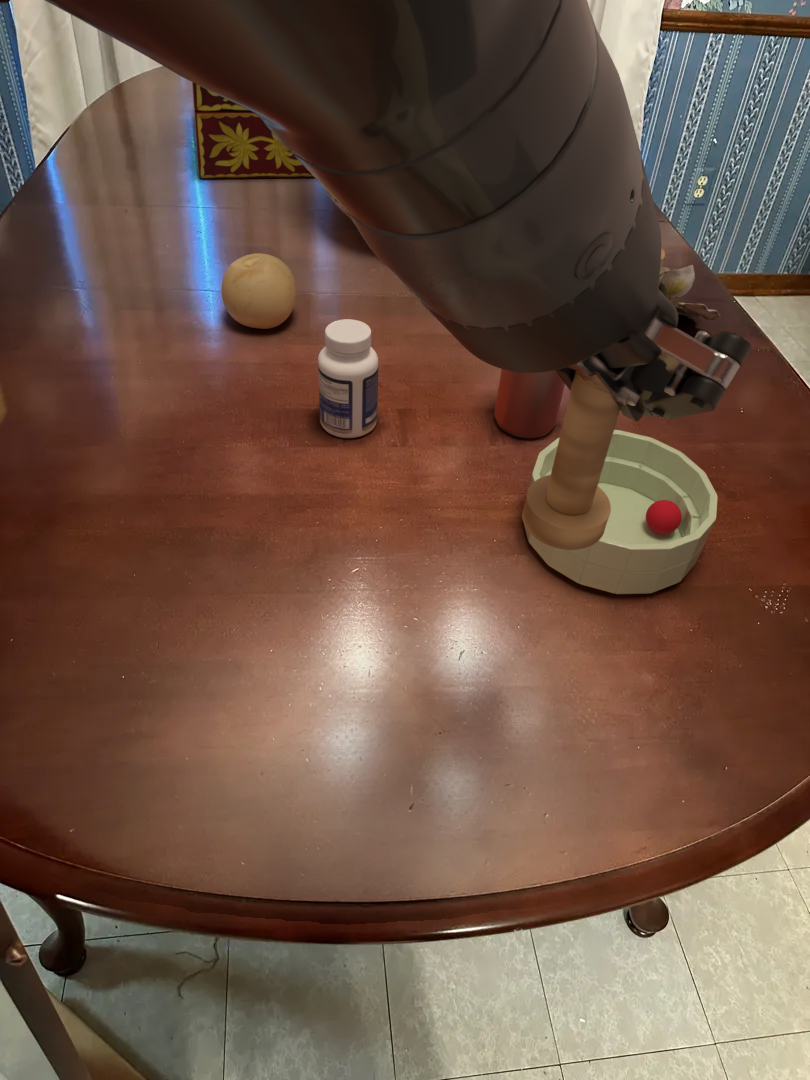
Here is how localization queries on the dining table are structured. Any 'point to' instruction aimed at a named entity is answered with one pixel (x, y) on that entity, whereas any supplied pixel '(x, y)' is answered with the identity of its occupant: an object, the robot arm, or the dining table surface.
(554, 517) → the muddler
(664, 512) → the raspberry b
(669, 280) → the artificial flower
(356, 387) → the pill bottle
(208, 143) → the decorative box
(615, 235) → the robot arm
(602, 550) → the bowl
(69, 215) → the dining table surface
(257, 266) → the pale yellow round fruit
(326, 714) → the dining table surface
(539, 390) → the beverage can
